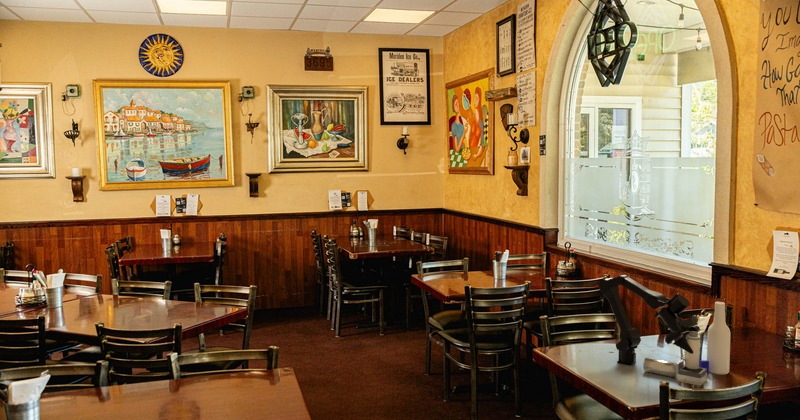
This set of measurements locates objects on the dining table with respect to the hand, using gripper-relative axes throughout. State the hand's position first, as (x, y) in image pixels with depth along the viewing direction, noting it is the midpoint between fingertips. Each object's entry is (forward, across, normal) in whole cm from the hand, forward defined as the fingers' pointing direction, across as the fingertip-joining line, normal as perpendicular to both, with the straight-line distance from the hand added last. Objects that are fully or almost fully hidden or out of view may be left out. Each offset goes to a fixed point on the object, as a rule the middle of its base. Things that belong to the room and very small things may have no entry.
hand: (696, 352), depth 270 cm
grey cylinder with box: (+2, -2, +15) cm, 15 cm away
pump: (+4, 0, +6) cm, 7 cm away
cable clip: (+4, +15, +14) cm, 21 cm away
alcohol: (+8, +20, +9) cm, 23 cm away
